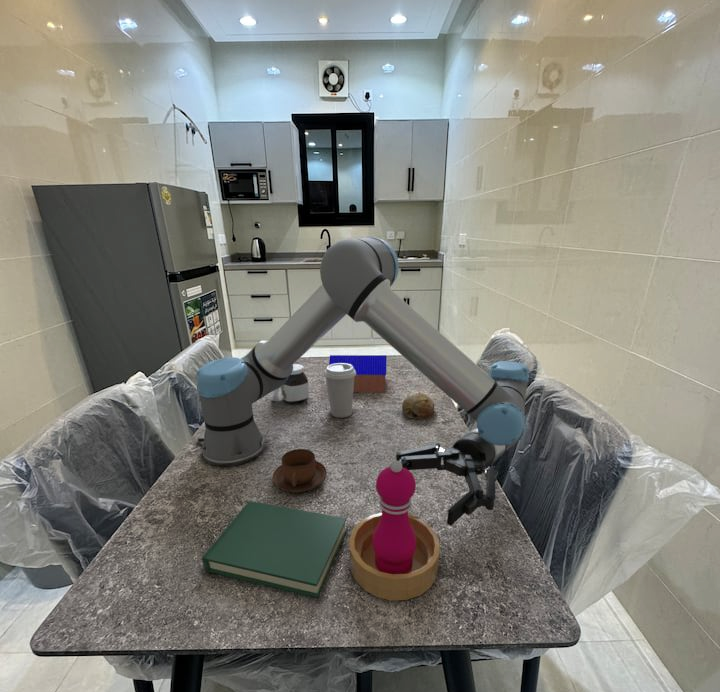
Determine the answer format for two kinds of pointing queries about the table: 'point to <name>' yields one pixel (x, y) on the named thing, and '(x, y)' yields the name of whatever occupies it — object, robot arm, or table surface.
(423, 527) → the bowl
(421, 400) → the bread roll
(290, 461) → the cup and saucer
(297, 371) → the spread jar
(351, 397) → the coffee cup
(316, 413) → the table surface
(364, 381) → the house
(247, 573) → the book
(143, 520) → the table surface
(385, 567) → the pepper mill
